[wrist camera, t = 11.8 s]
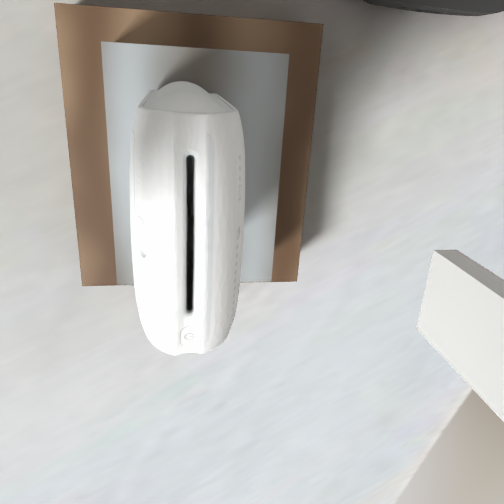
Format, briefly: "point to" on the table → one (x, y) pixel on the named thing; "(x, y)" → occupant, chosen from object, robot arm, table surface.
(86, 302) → the table surface
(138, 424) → the table surface
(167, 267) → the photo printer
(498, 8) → the media streaming box
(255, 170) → the grey block on wood
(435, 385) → the table surface
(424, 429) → the table surface
